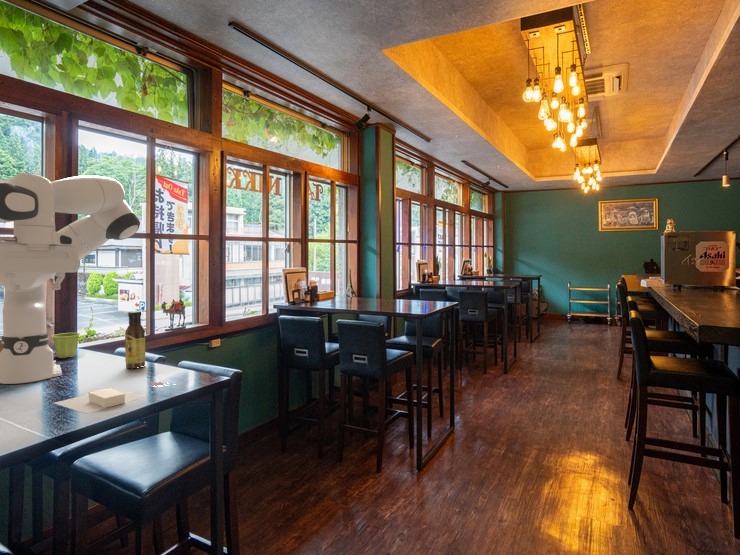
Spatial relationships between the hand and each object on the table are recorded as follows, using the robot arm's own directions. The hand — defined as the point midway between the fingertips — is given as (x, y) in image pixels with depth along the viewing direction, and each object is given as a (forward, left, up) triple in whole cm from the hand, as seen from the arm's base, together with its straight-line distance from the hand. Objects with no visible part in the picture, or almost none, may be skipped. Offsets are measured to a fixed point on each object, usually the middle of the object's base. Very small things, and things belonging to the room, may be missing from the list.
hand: (36, 290), depth 121 cm
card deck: (+4, +14, -28) cm, 32 cm away
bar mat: (+4, +14, -30) cm, 34 cm away
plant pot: (-67, -4, -30) cm, 73 cm away
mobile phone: (-11, +30, -31) cm, 44 cm away
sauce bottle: (-35, +21, -30) cm, 51 cm away
